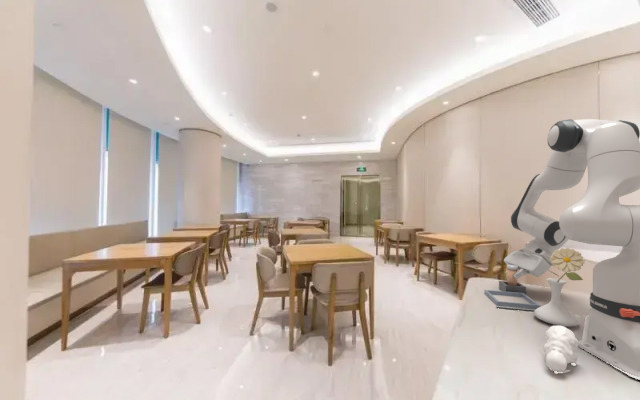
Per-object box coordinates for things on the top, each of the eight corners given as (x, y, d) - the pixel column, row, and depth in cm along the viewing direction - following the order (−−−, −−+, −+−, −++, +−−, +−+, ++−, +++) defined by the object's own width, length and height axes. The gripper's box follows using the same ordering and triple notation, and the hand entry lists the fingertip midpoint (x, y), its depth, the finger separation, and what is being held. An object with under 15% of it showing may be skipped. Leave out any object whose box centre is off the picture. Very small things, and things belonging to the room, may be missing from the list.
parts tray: (541, 312, 100) (541, 305, 100) (497, 308, 103) (497, 301, 103) (522, 299, 113) (522, 292, 113) (484, 295, 116) (484, 289, 116)
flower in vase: (526, 318, 95) (527, 244, 95) (546, 313, 99) (547, 242, 99) (573, 335, 83) (574, 251, 83) (593, 329, 87) (595, 249, 87)
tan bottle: (519, 293, 116) (519, 266, 116) (508, 292, 117) (509, 266, 117) (515, 290, 120) (515, 264, 120) (505, 289, 121) (505, 264, 121)
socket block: (526, 298, 114) (526, 287, 114) (505, 296, 116) (505, 285, 116) (517, 292, 121) (518, 282, 121) (498, 290, 123) (498, 280, 123)
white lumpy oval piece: (579, 327, 69) (573, 349, 61) (579, 360, 69) (573, 386, 61) (546, 319, 73) (537, 338, 65) (546, 350, 74) (537, 373, 66)
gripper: (514, 244, 128) (491, 264, 129) (547, 252, 108) (520, 276, 109) (524, 254, 128) (501, 274, 129) (559, 264, 108) (532, 288, 108)
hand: (510, 275), depth 118 cm, fingers closed on tan bottle, 3 cm apart
